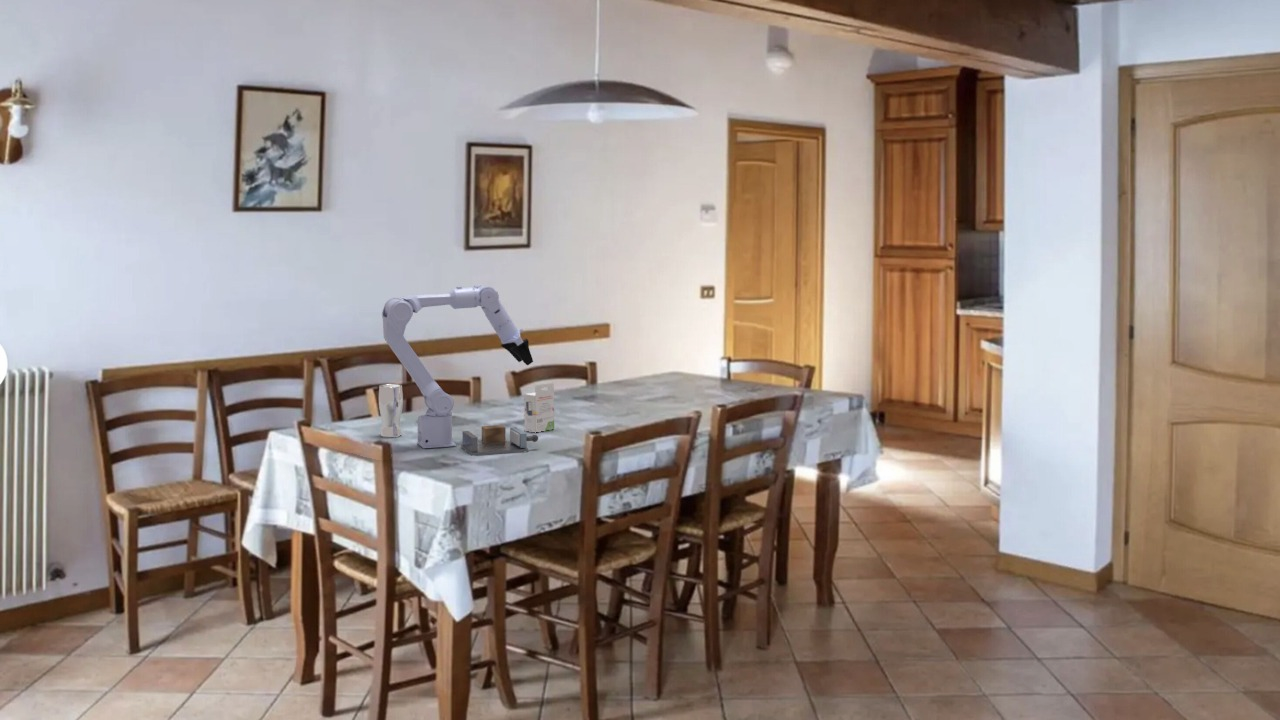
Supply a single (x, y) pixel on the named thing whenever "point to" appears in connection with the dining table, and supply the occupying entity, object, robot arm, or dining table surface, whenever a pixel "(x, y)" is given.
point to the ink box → (539, 409)
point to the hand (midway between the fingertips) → (526, 361)
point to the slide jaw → (521, 437)
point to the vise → (487, 446)
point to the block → (493, 433)
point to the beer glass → (390, 409)
